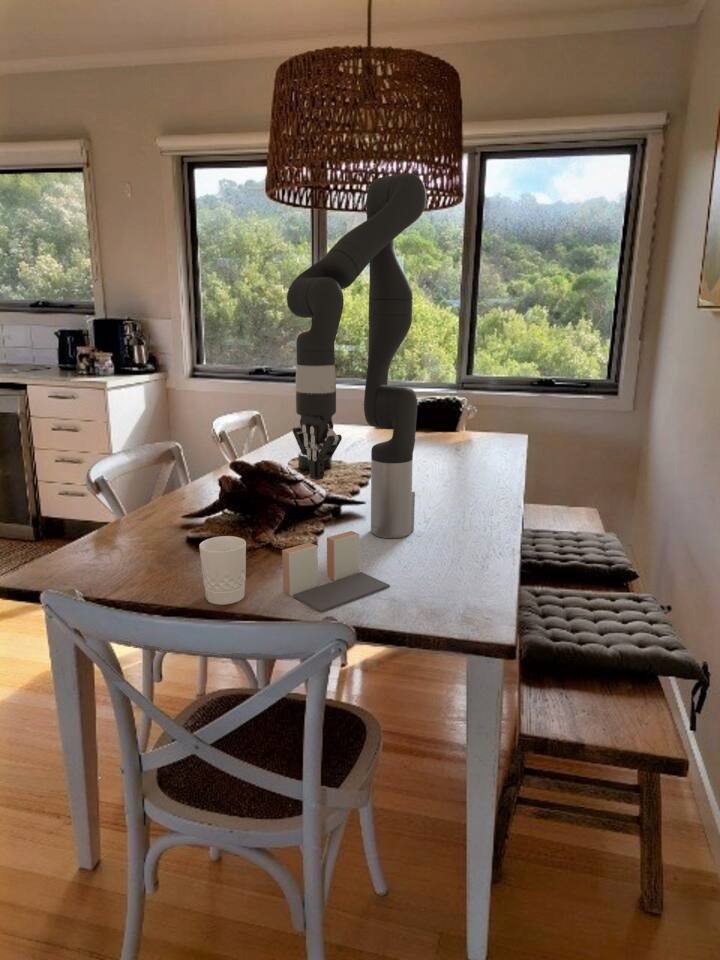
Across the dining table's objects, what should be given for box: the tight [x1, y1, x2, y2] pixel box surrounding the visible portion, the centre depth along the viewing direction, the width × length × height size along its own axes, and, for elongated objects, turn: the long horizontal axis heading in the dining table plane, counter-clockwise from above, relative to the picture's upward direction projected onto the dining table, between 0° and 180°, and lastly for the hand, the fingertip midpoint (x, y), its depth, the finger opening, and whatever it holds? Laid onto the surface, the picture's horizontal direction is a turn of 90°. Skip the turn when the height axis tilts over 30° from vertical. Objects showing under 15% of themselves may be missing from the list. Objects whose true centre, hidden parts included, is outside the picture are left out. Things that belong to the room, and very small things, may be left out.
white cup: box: [199, 535, 247, 606], centre depth 111 cm, size 8×8×10 cm
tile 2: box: [326, 530, 360, 581], centre depth 121 cm, size 6×2×8 cm, turn 131°
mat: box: [292, 571, 391, 614], centre depth 115 cm, size 16×8×1 cm, turn 131°
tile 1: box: [281, 542, 319, 597], centre depth 115 cm, size 6×2×8 cm, turn 131°
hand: (316, 478), depth 124 cm, fingers closed
